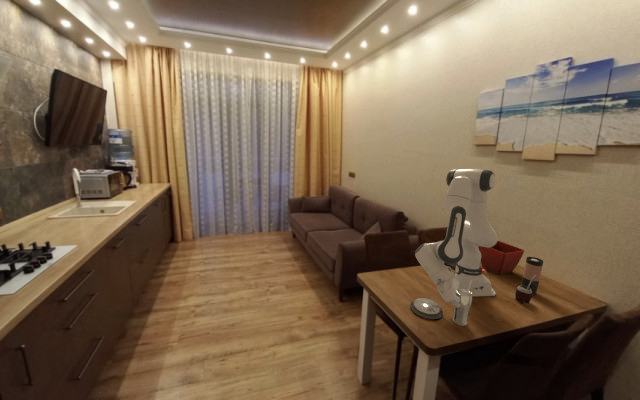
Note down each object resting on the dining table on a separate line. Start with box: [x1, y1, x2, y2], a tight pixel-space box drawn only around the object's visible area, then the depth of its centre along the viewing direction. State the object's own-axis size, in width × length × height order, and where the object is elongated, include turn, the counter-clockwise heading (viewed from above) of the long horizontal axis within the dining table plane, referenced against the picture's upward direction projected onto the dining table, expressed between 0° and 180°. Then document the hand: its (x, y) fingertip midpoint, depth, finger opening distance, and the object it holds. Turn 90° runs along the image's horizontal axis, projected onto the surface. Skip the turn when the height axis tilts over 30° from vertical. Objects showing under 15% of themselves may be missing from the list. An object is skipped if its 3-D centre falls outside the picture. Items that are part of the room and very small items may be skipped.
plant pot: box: [478, 240, 525, 276], centre depth 181 cm, size 19×19×17 cm
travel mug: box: [520, 256, 544, 296], centre depth 153 cm, size 8×8×20 cm
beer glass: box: [451, 289, 473, 327], centre depth 123 cm, size 7×7×15 cm
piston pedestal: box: [409, 297, 444, 321], centre depth 132 cm, size 15×15×3 cm
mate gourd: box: [514, 275, 536, 305], centre depth 143 cm, size 8×8×15 cm
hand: (460, 301), depth 123 cm, fingers open, 8 cm apart
